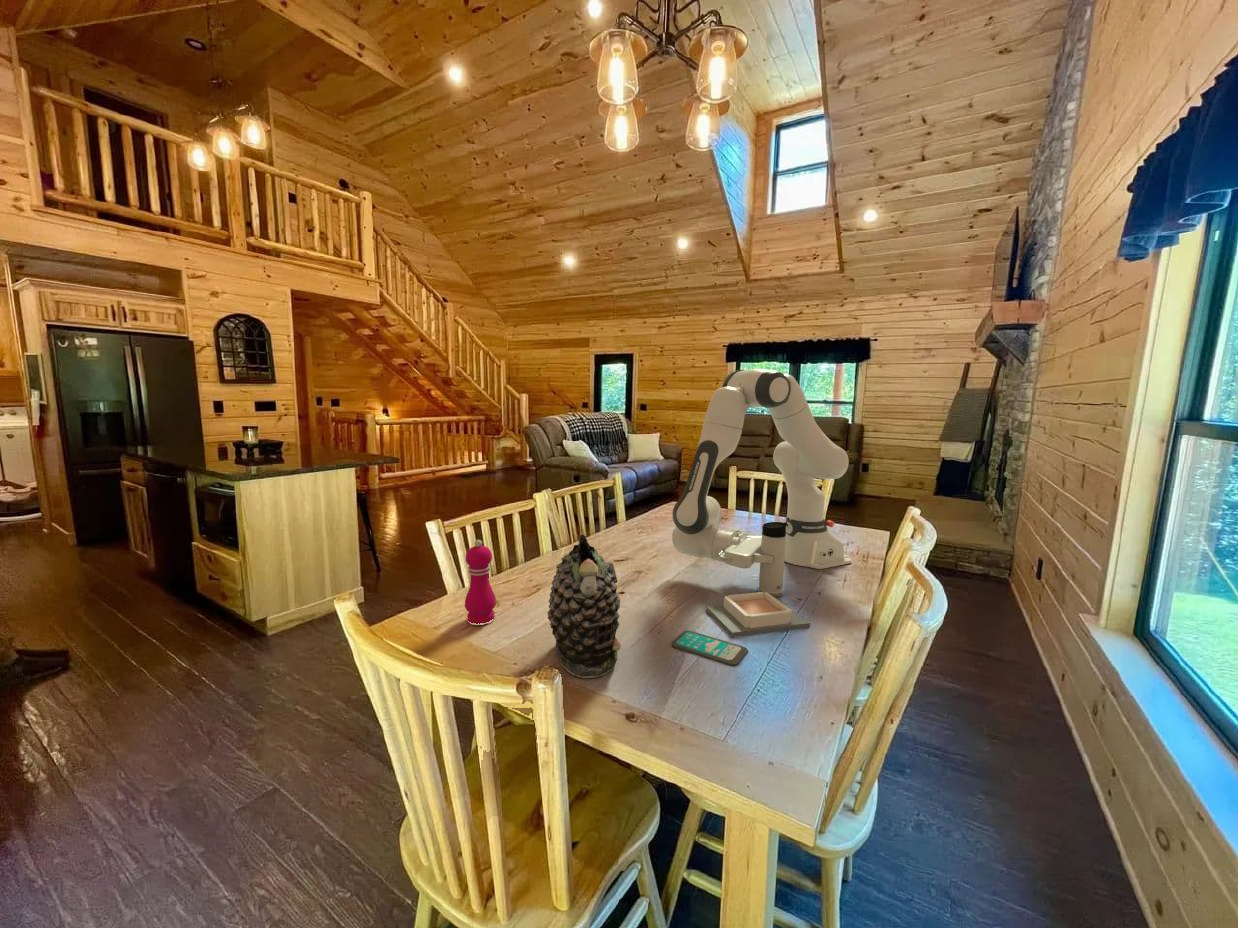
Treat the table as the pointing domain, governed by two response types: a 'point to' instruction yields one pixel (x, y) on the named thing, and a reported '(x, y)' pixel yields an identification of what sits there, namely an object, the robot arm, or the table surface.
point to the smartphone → (710, 648)
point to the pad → (756, 606)
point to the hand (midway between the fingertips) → (776, 555)
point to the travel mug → (774, 546)
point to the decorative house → (585, 612)
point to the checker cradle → (755, 616)
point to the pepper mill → (479, 585)
